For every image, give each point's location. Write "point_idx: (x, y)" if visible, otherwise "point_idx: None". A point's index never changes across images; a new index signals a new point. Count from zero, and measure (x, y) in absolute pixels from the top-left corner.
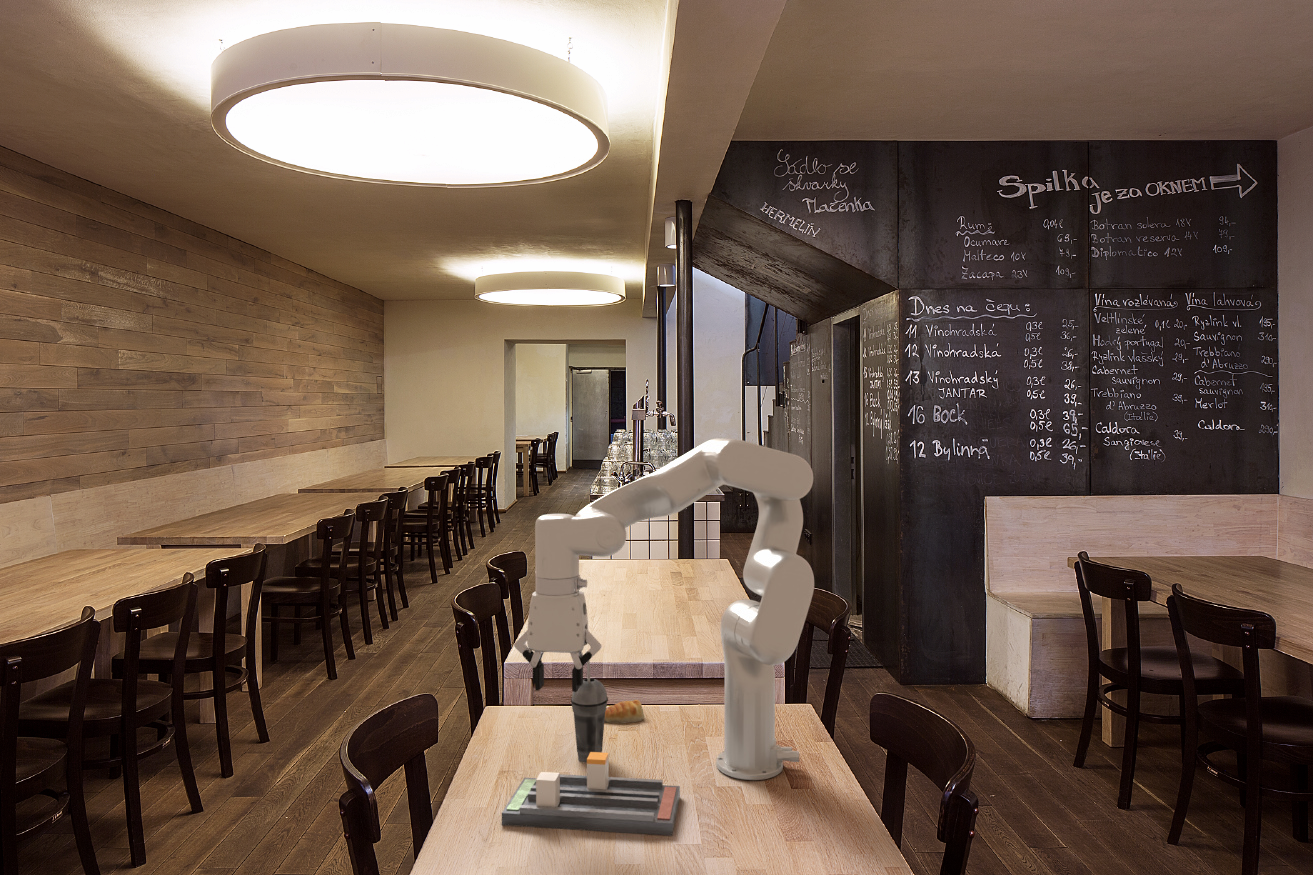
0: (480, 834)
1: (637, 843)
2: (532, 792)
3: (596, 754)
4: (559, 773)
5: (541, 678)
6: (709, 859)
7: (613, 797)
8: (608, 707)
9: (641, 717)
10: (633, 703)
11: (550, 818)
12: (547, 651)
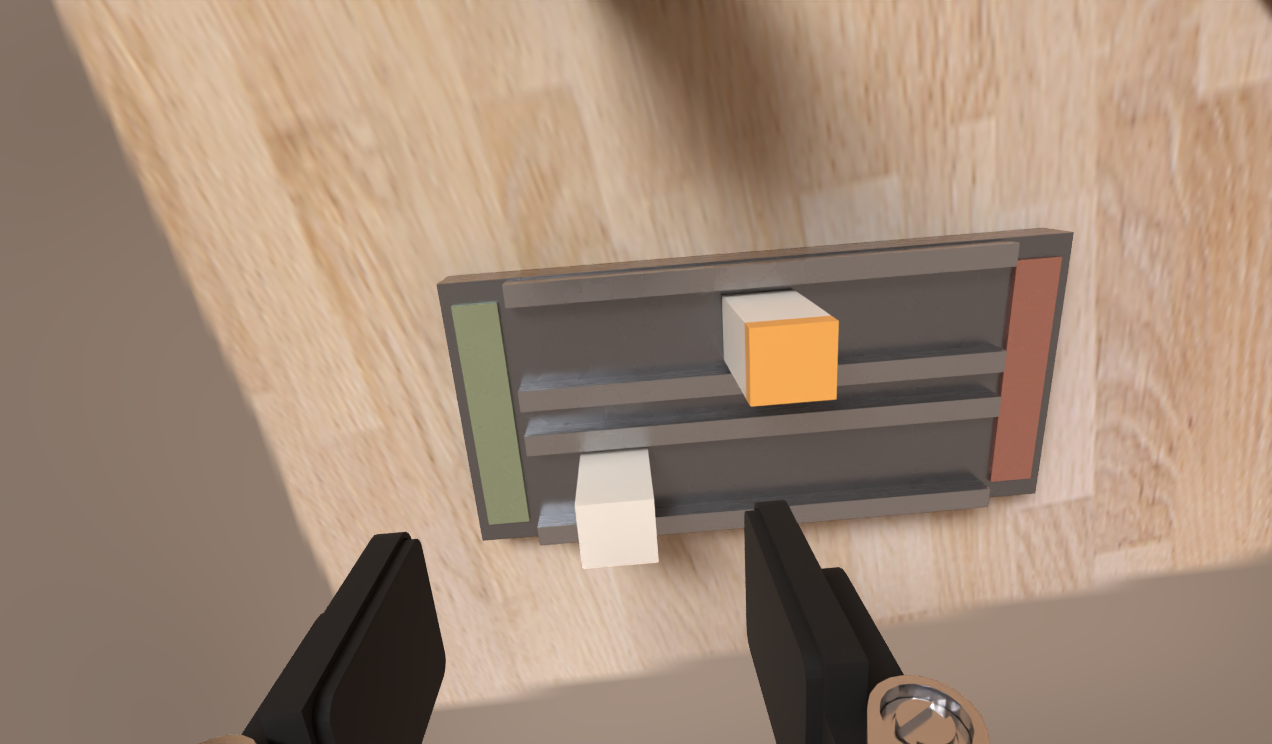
0: (454, 573)
1: (912, 529)
2: (538, 442)
3: (784, 351)
4: (653, 499)
5: (407, 673)
6: (1107, 560)
7: (840, 418)
8: None
9: None
10: None
11: None
12: None
